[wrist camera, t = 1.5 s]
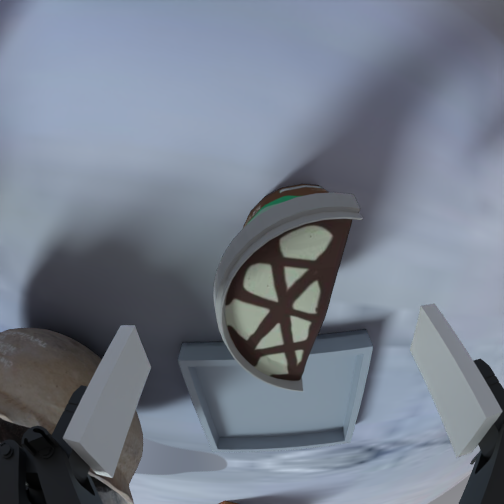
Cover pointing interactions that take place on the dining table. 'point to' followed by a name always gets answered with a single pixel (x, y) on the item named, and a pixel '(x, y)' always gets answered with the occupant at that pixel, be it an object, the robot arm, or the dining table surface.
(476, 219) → the dining table surface
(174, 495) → the dining table surface
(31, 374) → the ceramic bowl
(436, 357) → the robot arm
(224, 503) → the milk carton
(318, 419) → the tray
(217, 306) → the food container
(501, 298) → the dining table surface
